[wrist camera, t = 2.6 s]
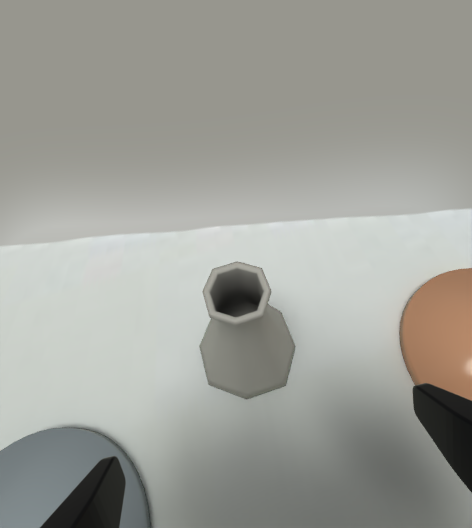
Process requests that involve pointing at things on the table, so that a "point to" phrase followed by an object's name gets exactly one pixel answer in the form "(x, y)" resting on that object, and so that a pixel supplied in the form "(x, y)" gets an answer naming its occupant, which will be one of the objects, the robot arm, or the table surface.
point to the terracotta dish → (440, 333)
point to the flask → (244, 333)
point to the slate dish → (60, 476)
